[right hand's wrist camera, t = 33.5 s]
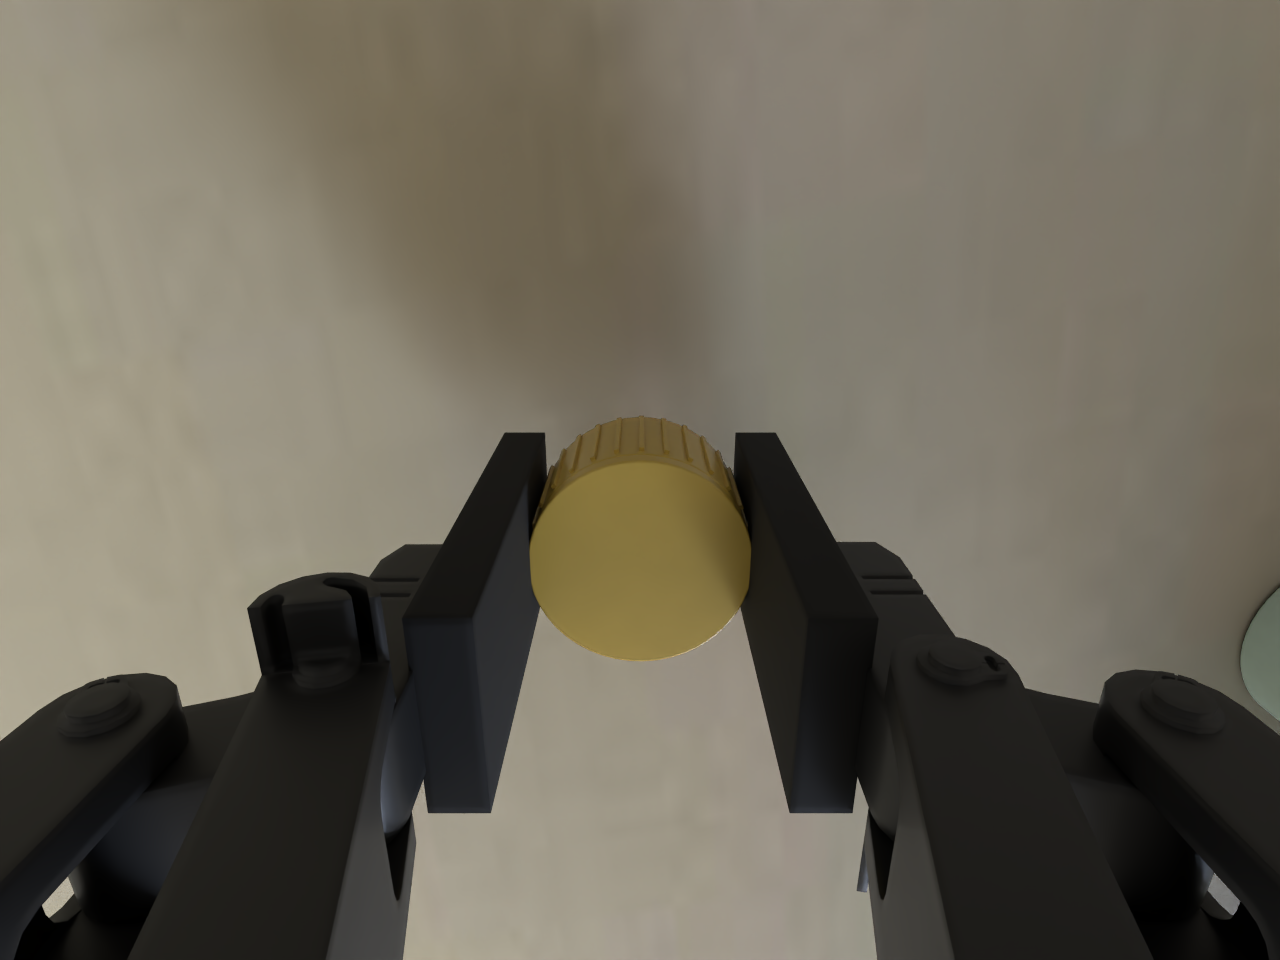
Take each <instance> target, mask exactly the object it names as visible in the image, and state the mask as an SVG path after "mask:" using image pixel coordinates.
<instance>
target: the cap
mask: <svg viewBox="0 0 1280 960" xmlns="http://www.w3.org/2000/svg"><path fill="white" fill-rule="evenodd" d="M743 509H744V507H743V504H742V501H741V498H740V495H739V492H738V488H737V485H736V482H735V479H734V476H733V473H732V470H731V468H730V467H729V468H727V467H726V465H725V463H724V462H723V459H722V456H721V453H720V452H719V451H718V450H717V451H715V450H714V449H713V448H712V447H711V445H710V444H709V443H707V442H706V438H705V437H703V436H701V437H700V436H699V435H697V434H696V433H694V432H692V431H691V430H689V429H687V426H685V425H683V426H680V425H678V424H676V423H673V422H669V421H666V419H664V418H662V419H656V418H645V417H644V416H639V417H635V418H624V419H621V418H617V420H615V421H611V422H608V423H605V424H602V425H600V424H598V425H596V427H595V428H594V429H592V430H590V431H588V432H587V433H585V434H584V435H582V436H581V434H580V435H578V436H577V439H576V441H574V442H573V443H572V444H571V445H570V446H569V447H568V448H567V449H563V450H562V451H561V455H560V458H559V460H558V461H557V463H556V464H555V466H551V467H550V470H549V473H548V476H547V479H546V482H545V485H544V489H543V492H542V495H541V498H540V501H539V504H538V507H537V511H536V514H535V517H534V520H533V523H532V528H533V531H532V535H531V538H530V542H529V553H530V570H531V585H532V589H533V592H534V595H535V597H536V599H537V601H538V603H539V605H540V607H541V608H542V610H543V612H544V613H545V615H546V616H547V617H548V619H549V620H550V621H551V622H552V623H553V624H554V626H555V627H556V628H557V629H558V630H560V631H561V632H562V633H563V634H564V635H565V636H566V637H568V638H569V639H571V640H572V641H574V642H575V643H577V644H578V645H580V646H582V647H584V648H586V649H588V650H590V651H592V652H595V653H598V654H600V655H603V656H607V657H611V658H615V659H621V660H628V661H652V660H660V659H665V658H671V657H674V656H677V655H680V654H684V653H686V652H688V651H690V650H693V649H695V648H697V647H699V646H700V645H702V644H704V643H706V642H707V641H709V640H710V639H711V638H713V637H714V636H715V635H717V634H718V633H719V632H720V631H721V630H722V629H723V628H724V627H725V626H726V625H727V624H728V623H729V622H730V621H731V619H732V618H733V617H734V616H735V614H736V613H737V611H738V610H739V608H740V606H741V605H742V603H743V601H744V599H745V596H746V594H747V591H748V589H749V578H750V561H751V539H750V535H749V532H748V524H747V521H746V518H745V515H744V512H743Z"/></svg>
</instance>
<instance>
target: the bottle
mask: <svg viewBox="0 0 1280 960" xmlns="http://www.w3.org/2000/svg"><path fill="white" fill-rule="evenodd" d="M1240 667H1241V673H1242V678H1243V680H1244V683H1245V686H1246V688H1247V690H1248V691H1249V693H1250V695H1251V696H1252V697H1253V699H1254V700H1255V701H1256V702H1257V703H1258V704H1259V705H1260V706H1261V707H1263V708H1264V709H1265V710H1266V711H1267V712H1269V713H1270V714H1271V715H1272V716H1273V717H1275V718H1276V719H1277V720H1278V721H1279V722H1280V588H1278V589H1277V590H1276V591H1275V592H1274V593H1273V594H1272V595H1271V596H1270V597H1269V598H1268V599H1267V601H1266V602H1265V603H1264V604H1263V606H1262V607H1261V608H1260V609H1259V611H1258V612H1257V614H1256V616H1255V617H1254V619H1253V620H1252V622H1251V624H1250V626H1249V628H1248V630H1247V632H1246V635H1245V638H1244V641H1243V644H1242V650H1241V656H1240Z"/></svg>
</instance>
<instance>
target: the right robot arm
mask: <svg viewBox="0 0 1280 960" xmlns="http://www.w3.org/2000/svg"><path fill="white" fill-rule="evenodd" d="M546 479H547V467H546V446H545V433H504V435H503V437H502V439H501V441H500V442H499V444H498V446H497V448H496V450H495V451H494V453H493V455H492V457H491V459H490V460H489V462H488V464H487V466H486V468H485V469H484V471H483V473H482V475H481V477H480V478H479V480H478V482H477V484H476V486H475V487H474V489H473V491H472V493H471V495H470V496H469V498H468V500H467V502H466V504H465V505H464V507H463V509H462V511H461V513H460V514H459V516H458V518H457V520H456V522H455V523H454V525H453V527H452V529H451V531H450V532H449V534H448V536H447V538H446V540H445V541H444V543H443V544H405V545H404V546H402V547H401V548H399V549H398V550H396V551H394V552H393V553H391V554H390V555H388V556H387V557H385V558H384V559H382V560H381V561H380V562H379V564H378V565H377V567H376V568H375V569H374V571H373V572H372V574H371V575H370V577H366V576H362V575H358V574H353V573H322V574H316V575H310V576H304V577H300V578H297V579H294V580H291V581H288V582H285V583H282V584H279V585H278V586H276V587H274V588H272V589H270V590H269V591H267V592H265V593H263V594H261V595H260V596H259V597H258V598H257V599H256V600H255V601H254V602H253V603H252V604H251V605H250V606H249V607H248V608H247V610H248V614H249V619H250V623H251V628H252V632H253V637H254V642H255V646H256V651H257V655H258V660H259V664H260V669H261V673H262V676H261V678H260V680H259V683H258V685H257V687H256V689H255V691H254V692H252V693H248V694H244V695H240V696H236V697H231V698H226V699H221V700H216V701H211V702H206V703H201V704H196V705H190V706H185V707H182V704H181V700H180V696H179V693H178V689H177V686H176V685H175V684H174V683H173V682H172V681H170V680H169V679H168V678H167V677H165V676H160V675H154V674H149V673H140V674H127V675H116V676H111V677H107V679H104V678H102V679H99V680H95V681H92V682H89V683H87V684H85V685H84V686H82V687H80V688H78V689H75V690H73V691H71V692H68V693H66V694H64V695H62V696H60V697H59V698H57V699H56V700H54V701H52V702H51V703H49V704H48V705H46V706H45V707H43V708H42V709H40V710H38V711H37V712H36V713H35V714H33V715H32V716H31V717H30V718H29V719H27V720H26V721H25V722H24V723H22V724H21V725H20V726H19V727H17V728H16V729H15V730H14V731H12V732H11V733H10V734H9V735H7V736H6V737H5V738H4V739H2V740H1V741H0V960H403V953H404V944H405V936H406V927H407V918H408V910H409V901H410V892H411V884H412V875H413V867H414V858H415V849H416V837H415V830H414V823H413V817H412V809H413V806H414V803H415V801H416V798H417V795H418V792H419V790H420V787H421V784H422V782H423V779H424V787H425V794H426V802H427V809H428V813H491V810H492V806H493V801H494V797H495V793H496V789H497V785H498V781H499V776H500V772H501V768H502V764H503V760H504V755H505V751H506V747H507V743H508V739H509V735H510V730H511V726H512V722H513V718H514V714H515V709H516V705H517V701H518V697H519V693H520V689H521V684H522V680H523V676H524V672H525V668H526V663H527V659H528V655H529V651H530V647H531V643H532V638H533V634H534V630H535V626H536V622H537V618H538V613H539V609H540V605H539V603H538V601H537V599H536V597H535V595H534V592H533V589H532V585H531V570H530V553H529V542H530V538H531V535H532V531H533V528H532V523H533V520H534V517H535V514H536V511H537V507H538V504H539V501H540V498H541V495H542V492H543V489H544V485H545V482H546ZM734 479H735V482H736V485H737V488H738V492H739V495H740V498H741V501H742V504H743V507H744V509H743V512H744V515H745V518H746V521H747V524H748V532H749V535H750V539H751V561H750V578H749V589H748V591H747V594H746V596H745V599H744V601H743V603H742V605H741V606H740V607H741V611H742V616H743V620H744V624H745V628H746V632H747V636H748V641H749V645H750V649H751V653H752V657H753V661H754V666H755V670H756V674H757V678H758V682H759V687H760V691H761V695H762V699H763V703H764V707H765V712H766V716H767V720H768V724H769V728H770V733H771V737H772V741H773V745H774V749H775V753H776V758H777V762H778V766H779V770H780V774H781V778H782V783H783V787H784V791H785V795H786V799H787V804H788V808H789V812H790V813H853V805H854V798H855V790H856V783H857V776H858V779H859V782H860V785H861V787H862V790H863V793H864V795H865V798H866V801H867V803H868V806H869V810H868V817H867V823H866V830H865V837H864V844H863V851H862V858H861V865H860V872H859V879H858V885H857V891H861V892H867V887H868V882H869V891H870V899H871V908H872V917H873V925H874V934H875V942H876V951H877V960H1280V736H1279V735H1278V734H1277V733H1275V732H1274V731H1273V730H1272V729H1270V728H1269V727H1268V726H1267V725H1265V724H1264V723H1263V722H1262V721H1260V720H1259V719H1258V718H1257V717H1255V716H1254V715H1253V714H1252V713H1250V712H1249V711H1248V710H1247V709H1245V708H1244V707H1243V706H1241V705H1240V704H1238V703H1236V702H1235V701H1233V700H1232V699H1230V698H1229V697H1227V696H1226V695H1224V694H1222V693H1221V692H1219V691H1217V690H1215V689H1212V688H1210V687H1208V686H1205V685H1203V684H1201V683H1198V682H1197V681H1196V680H1194V679H1191V678H1188V677H1184V676H1181V675H1178V676H1176V675H1175V674H1173V673H1168V672H1163V671H1147V670H1131V671H1125V672H1120V673H1115V674H1114V675H1113V676H1112V677H1111V678H1109V679H1108V680H1107V681H1106V682H1105V684H1104V688H1103V691H1102V695H1101V699H1100V702H1099V704H1097V703H1092V702H1087V701H1082V700H1076V699H1071V698H1066V697H1061V696H1056V695H1051V694H1046V693H1042V692H1038V691H1034V690H1030V689H1026V688H1024V685H1023V683H1022V681H1021V679H1020V677H1019V675H1018V673H1017V672H1016V671H1015V670H1014V668H1013V667H1012V666H1011V665H1010V663H1009V662H1008V661H1007V660H1006V659H1004V658H1003V657H1001V656H1000V655H998V654H997V653H995V652H994V651H992V650H991V649H989V648H987V647H985V646H982V645H980V644H977V643H975V642H972V641H969V640H967V639H963V638H958V637H955V635H954V634H953V632H952V631H951V629H950V628H949V627H948V625H947V624H946V622H945V621H944V620H943V618H942V617H941V615H940V614H939V612H938V611H937V610H936V608H935V607H934V605H933V604H932V603H931V601H930V600H929V598H928V597H927V595H923V590H922V588H921V587H920V586H919V584H918V583H917V581H916V580H915V579H913V578H912V574H911V573H910V571H909V570H908V568H907V567H906V566H905V564H904V563H903V561H902V560H901V559H900V557H898V556H897V555H895V554H893V553H892V552H890V551H889V550H887V549H886V548H884V547H882V546H881V545H879V544H878V543H876V542H836V540H835V539H834V537H833V535H832V533H831V531H830V530H829V528H828V526H827V524H826V522H825V521H824V519H823V517H822V515H821V513H820V512H819V510H818V508H817V506H816V504H815V503H814V501H813V499H812V497H811V495H810V494H809V492H808V490H807V488H806V486H805V485H804V483H803V481H802V479H801V478H800V476H799V474H798V472H797V470H796V469H795V467H794V465H793V463H792V461H791V460H790V458H789V456H788V454H787V452H786V451H785V449H784V447H783V445H782V443H781V442H780V440H779V438H778V436H777V434H776V433H736V436H735V456H734ZM1214 873H1215V874H1216V875H1217V876H1218V877H1219V878H1220V879H1221V880H1222V881H1223V883H1224V884H1225V885H1226V886H1227V887H1228V888H1229V889H1230V890H1231V891H1232V892H1233V894H1234V895H1235V896H1236V897H1237V898H1238V899H1239V900H1240V901H1241V902H1240V904H1239V906H1238V909H1237V911H1236V913H1235V914H1234V915H1231V914H1230V913H1229V912H1227V911H1226V910H1225V909H1224V908H1223V907H1222V906H1221V905H1220V904H1219V903H1218V902H1217V901H1216V900H1215V899H1214V897H1213V896H1212V895H1211V894H1210V893H1209V892H1208V891H1207V890H1208V887H1209V884H1210V882H1211V879H1212V877H1213V874H1214ZM67 877H69V880H70V883H71V885H72V888H73V891H74V894H73V896H72V897H71V898H70V899H69V900H68V901H67V902H66V904H65V905H64V906H63V907H62V908H61V909H60V910H58V911H57V912H56V913H55V914H54V915H52V916H51V917H50V918H48V917H47V916H46V915H45V912H44V910H43V907H42V904H43V903H44V902H45V901H46V900H47V899H48V898H49V897H50V895H51V894H52V893H53V892H54V891H55V890H56V889H57V888H58V887H59V885H60V884H61V883H62V882H63V881H64V880H65V879H66V878H67Z"/></svg>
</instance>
